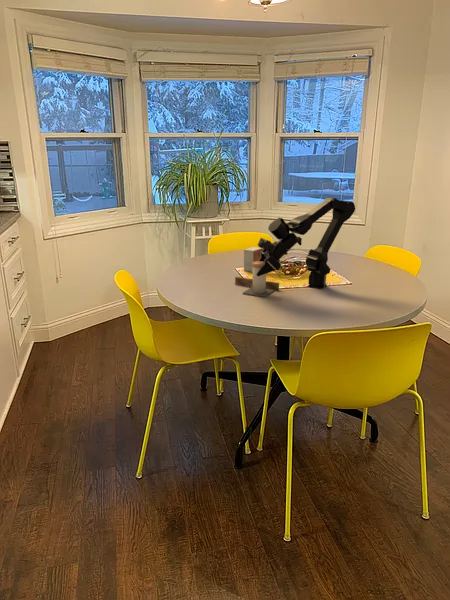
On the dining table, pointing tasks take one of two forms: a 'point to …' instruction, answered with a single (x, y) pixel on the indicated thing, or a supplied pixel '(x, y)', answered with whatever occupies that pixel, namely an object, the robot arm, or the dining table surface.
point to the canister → (258, 278)
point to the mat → (249, 292)
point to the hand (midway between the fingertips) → (255, 272)
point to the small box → (251, 257)
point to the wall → (249, 282)
